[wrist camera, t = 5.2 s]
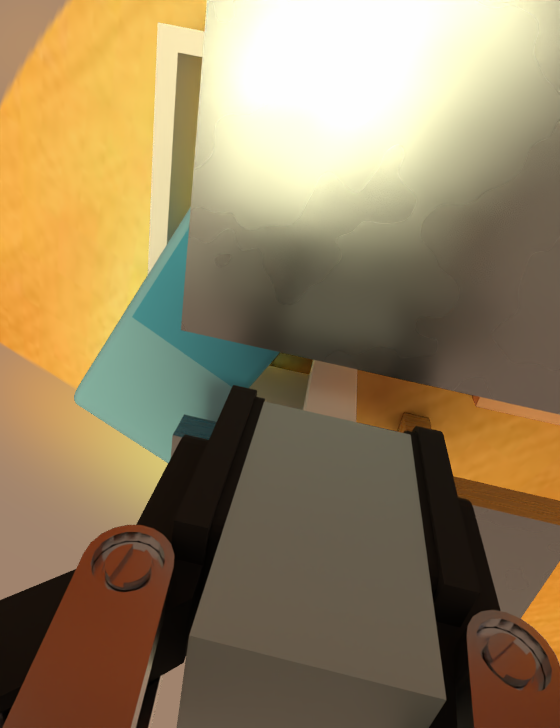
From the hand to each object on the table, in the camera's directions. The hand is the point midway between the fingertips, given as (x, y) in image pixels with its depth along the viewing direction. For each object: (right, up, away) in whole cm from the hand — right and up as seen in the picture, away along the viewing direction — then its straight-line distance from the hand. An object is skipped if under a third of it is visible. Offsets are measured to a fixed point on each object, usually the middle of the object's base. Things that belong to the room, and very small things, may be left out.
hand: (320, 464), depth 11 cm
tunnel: (+4, +8, +14) cm, 17 cm away
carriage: (-2, +9, +15) cm, 17 cm away
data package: (-2, +9, +15) cm, 17 cm away
